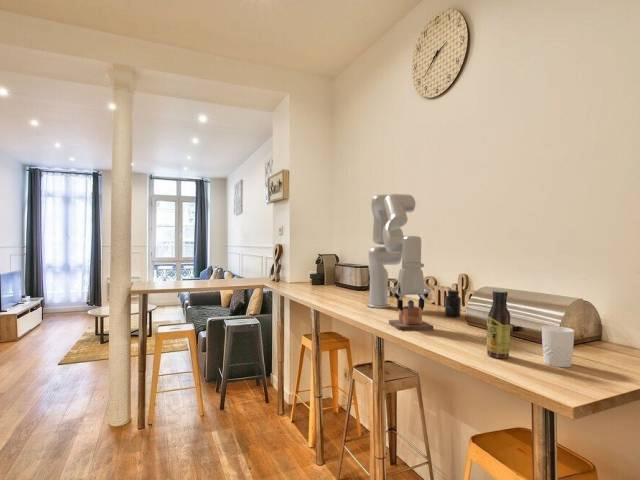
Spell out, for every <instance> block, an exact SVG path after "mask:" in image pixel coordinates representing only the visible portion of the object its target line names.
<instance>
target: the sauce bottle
mask: <svg viewBox="0 0 640 480" xmlns="http://www.w3.org/2000/svg"><path fill="white" fill-rule="evenodd" d="M507 298H508V291H505V290H500V289H495V290H492V305H491V308H490V310H489V312H488V315H487V326H486V328H487V329H486V331H487V332H486V353H487V355H488V356H489V357H492V358H494V359H508V358H509V357H510V355H509V354H510V347H511V346H510V345H511V342H510V341H511V312H510V311H509V310H508V307H507V306H508V304H507V303H508V302H507Z"/></svg>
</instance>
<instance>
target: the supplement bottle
mask: <svg viewBox="0 0 640 480" xmlns="http://www.w3.org/2000/svg"><path fill="white" fill-rule="evenodd" d="M459 292H460V291H459V290H456V289H449V290H447V294H448V295H446V296H445V302H444V303H445V304H444V305H445V307H444V315H445V316H446V317H449V318H460V317H461V310H462V309H461V308H462V307H461V306H462V304H461V303H462V301H461V300H462V298H461V297H460V296H459V295H460V293H459Z"/></svg>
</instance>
